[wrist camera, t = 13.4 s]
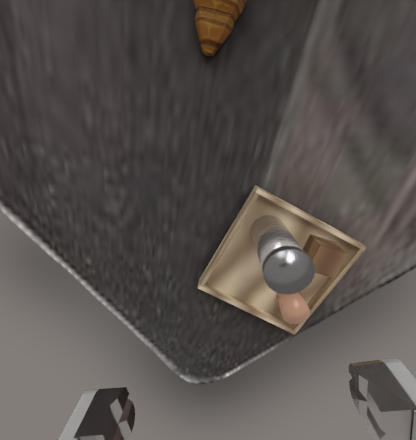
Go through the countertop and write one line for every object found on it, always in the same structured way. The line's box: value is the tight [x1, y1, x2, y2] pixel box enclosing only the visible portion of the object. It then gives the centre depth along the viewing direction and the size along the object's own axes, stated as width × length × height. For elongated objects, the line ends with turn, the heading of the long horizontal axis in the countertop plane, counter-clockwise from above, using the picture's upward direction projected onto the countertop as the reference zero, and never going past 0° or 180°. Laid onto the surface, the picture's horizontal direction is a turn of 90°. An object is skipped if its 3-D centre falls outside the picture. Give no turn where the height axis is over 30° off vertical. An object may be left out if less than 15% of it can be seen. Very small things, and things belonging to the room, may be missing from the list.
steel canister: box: [251, 215, 315, 294], centre depth 31 cm, size 5×5×12 cm
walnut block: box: [303, 234, 348, 279], centre depth 35 cm, size 4×4×4 cm
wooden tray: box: [198, 185, 366, 335], centre depth 39 cm, size 18×18×4 cm
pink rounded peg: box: [276, 292, 310, 324], centre depth 38 cm, size 4×4×4 cm
